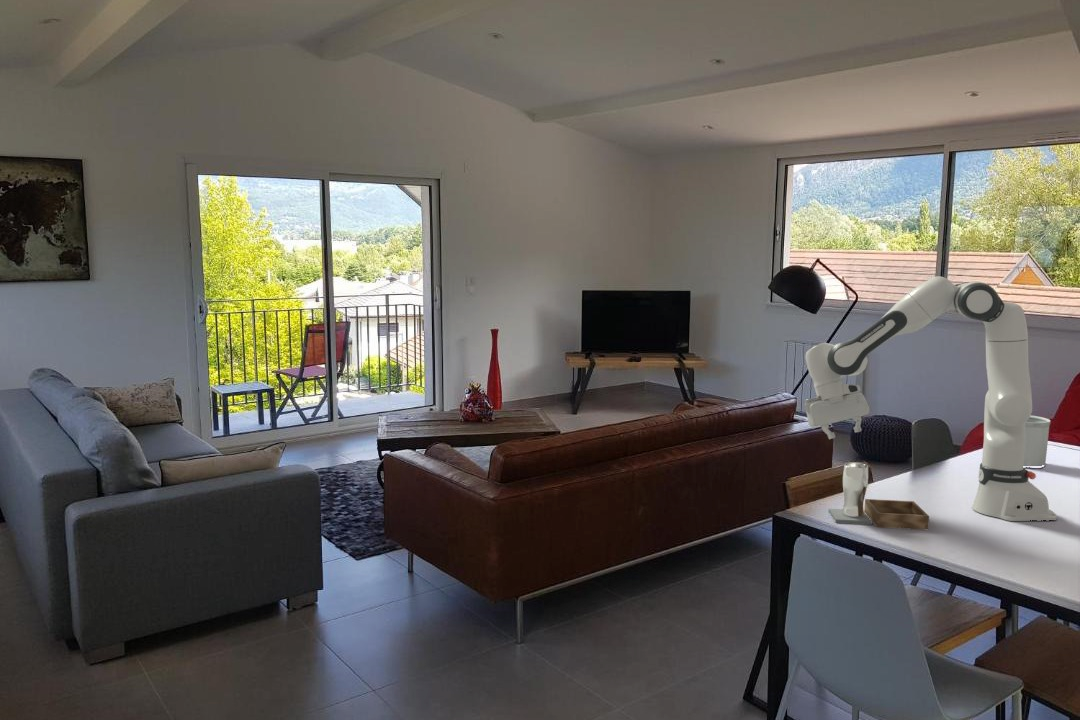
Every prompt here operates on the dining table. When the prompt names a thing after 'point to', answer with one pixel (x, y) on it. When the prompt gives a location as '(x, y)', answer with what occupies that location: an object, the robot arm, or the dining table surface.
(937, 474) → the dining table surface
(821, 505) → the dining table surface
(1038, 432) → the utensil holder
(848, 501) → the beer glass
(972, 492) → the dining table surface
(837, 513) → the slate mat
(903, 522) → the wooden tray
